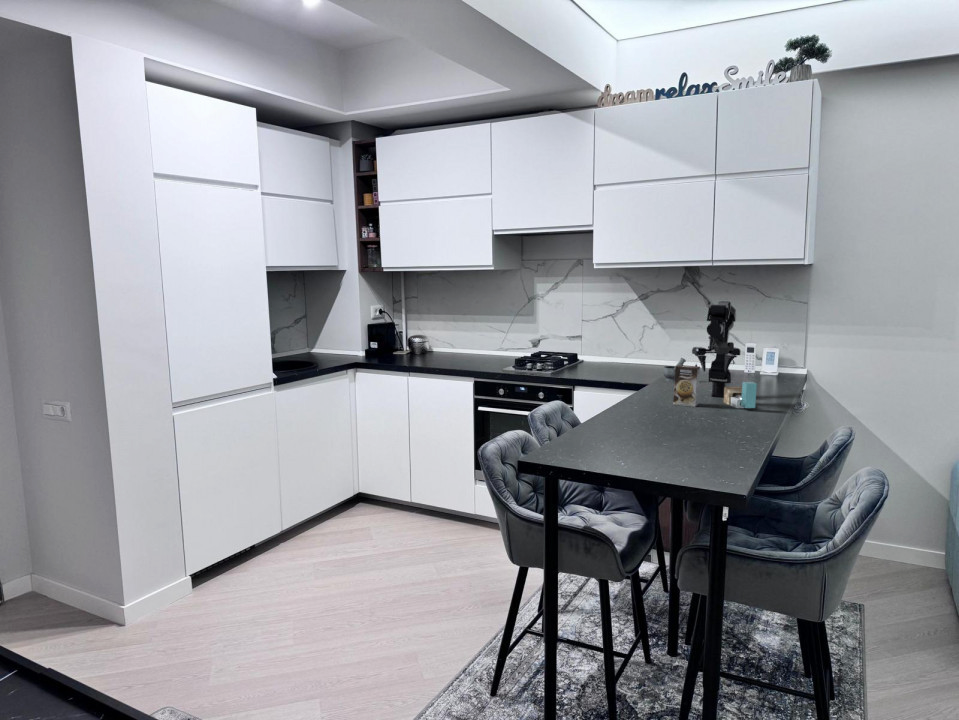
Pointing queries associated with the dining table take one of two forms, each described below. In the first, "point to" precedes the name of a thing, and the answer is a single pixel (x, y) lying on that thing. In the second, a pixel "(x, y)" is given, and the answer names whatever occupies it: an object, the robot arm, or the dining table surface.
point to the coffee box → (686, 385)
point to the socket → (731, 393)
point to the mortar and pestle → (671, 371)
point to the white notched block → (735, 402)
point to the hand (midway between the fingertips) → (714, 371)
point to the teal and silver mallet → (747, 395)
